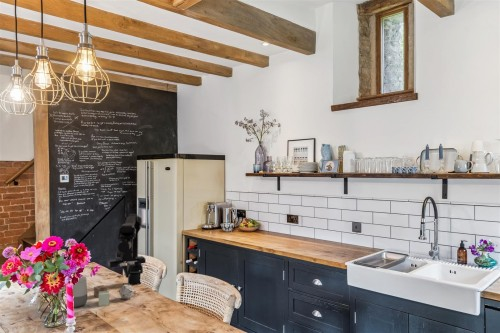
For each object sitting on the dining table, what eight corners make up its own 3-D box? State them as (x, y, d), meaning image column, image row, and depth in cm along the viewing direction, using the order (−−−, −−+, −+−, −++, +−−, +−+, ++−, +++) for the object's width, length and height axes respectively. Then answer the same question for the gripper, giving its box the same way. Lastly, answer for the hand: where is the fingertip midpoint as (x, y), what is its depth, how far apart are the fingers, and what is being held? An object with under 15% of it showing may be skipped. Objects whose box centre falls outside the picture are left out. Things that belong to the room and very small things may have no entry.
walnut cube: (102, 293, 214) (102, 284, 214) (107, 296, 211) (107, 286, 211) (94, 295, 211) (94, 286, 211) (98, 298, 207) (98, 288, 207)
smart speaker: (63, 308, 192) (63, 280, 192) (71, 302, 201) (72, 275, 201) (82, 308, 192) (83, 280, 192) (90, 302, 201) (90, 275, 201)
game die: (129, 304, 208) (141, 288, 211) (123, 304, 200) (135, 287, 203) (117, 295, 211) (129, 279, 213) (111, 294, 203) (123, 278, 205)
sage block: (108, 302, 202) (109, 290, 202) (109, 305, 197) (109, 293, 197) (98, 303, 200) (98, 291, 200) (98, 306, 195) (98, 294, 195)
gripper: (140, 244, 218) (139, 271, 218) (105, 247, 208) (105, 276, 209) (146, 247, 209) (145, 276, 209) (110, 251, 199) (110, 281, 199)
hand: (126, 277), depth 207 cm, fingers closed
